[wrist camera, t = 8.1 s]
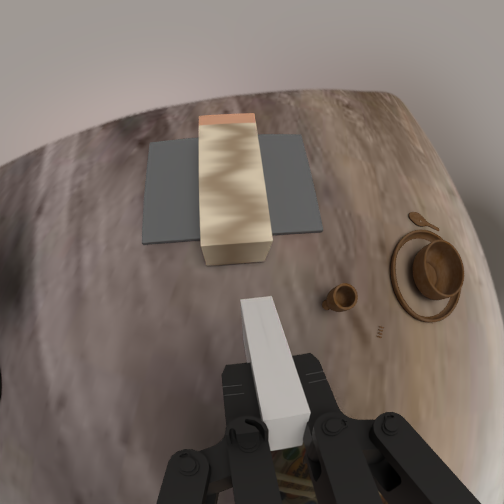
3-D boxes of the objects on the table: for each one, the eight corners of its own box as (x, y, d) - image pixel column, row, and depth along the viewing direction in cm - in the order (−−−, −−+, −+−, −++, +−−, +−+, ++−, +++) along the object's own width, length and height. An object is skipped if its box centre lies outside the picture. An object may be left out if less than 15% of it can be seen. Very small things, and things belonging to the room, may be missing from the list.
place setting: (445, 353, 29) (475, 351, 23) (308, 319, 29) (326, 313, 24) (454, 234, 34) (479, 219, 29) (338, 184, 35) (355, 158, 29)
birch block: (200, 246, 23) (199, 115, 28) (206, 265, 29) (202, 149, 34) (272, 241, 24) (254, 113, 29) (264, 261, 30) (250, 146, 34)
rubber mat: (143, 244, 30) (141, 243, 29) (150, 145, 34) (149, 142, 34) (321, 232, 32) (323, 230, 31) (300, 137, 36) (301, 134, 36)
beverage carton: (269, 404, 26) (280, 421, 20) (393, 469, 23) (421, 486, 17) (223, 459, 24) (222, 486, 17) (353, 516, 21) (375, 540, 15)
